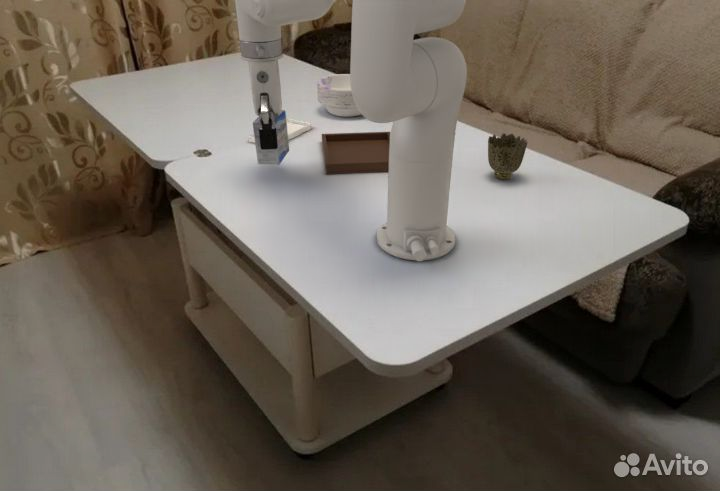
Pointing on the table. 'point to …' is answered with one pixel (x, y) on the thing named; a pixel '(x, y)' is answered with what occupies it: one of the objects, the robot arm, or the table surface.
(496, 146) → the cup
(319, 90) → the paper bowls
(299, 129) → the phone case
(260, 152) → the medicine box
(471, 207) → the table surface
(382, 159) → the tray
